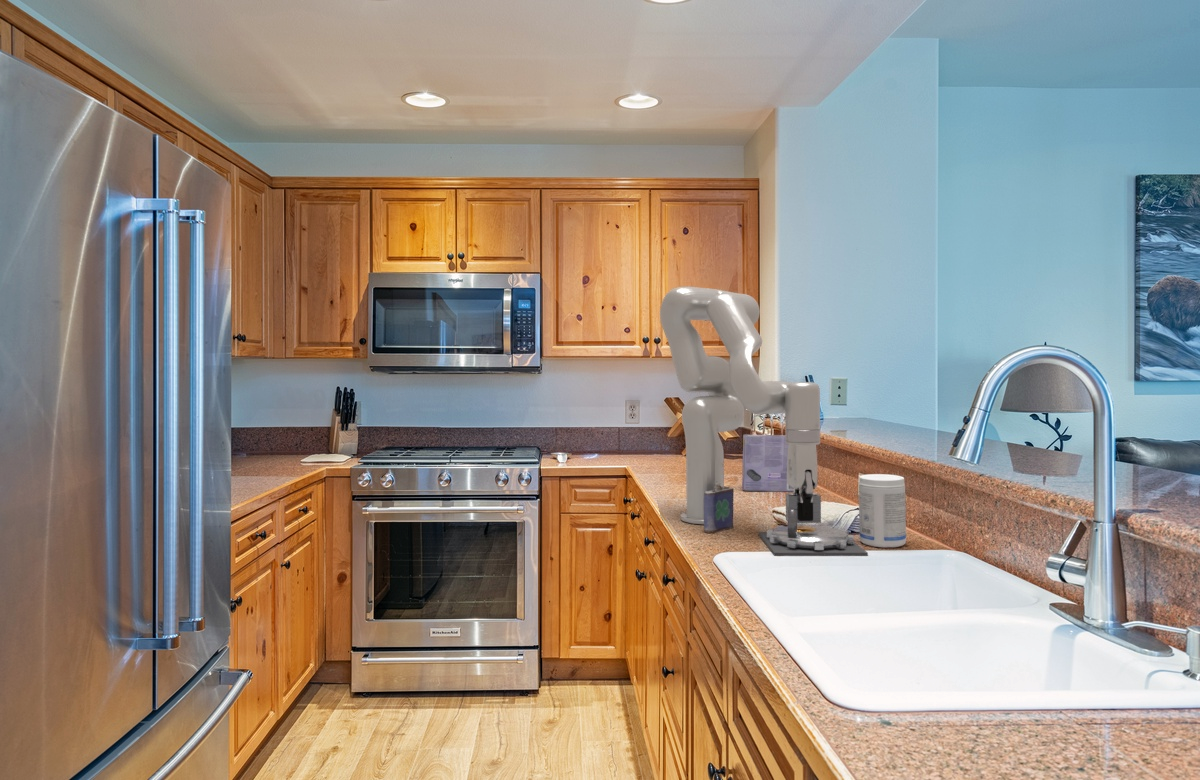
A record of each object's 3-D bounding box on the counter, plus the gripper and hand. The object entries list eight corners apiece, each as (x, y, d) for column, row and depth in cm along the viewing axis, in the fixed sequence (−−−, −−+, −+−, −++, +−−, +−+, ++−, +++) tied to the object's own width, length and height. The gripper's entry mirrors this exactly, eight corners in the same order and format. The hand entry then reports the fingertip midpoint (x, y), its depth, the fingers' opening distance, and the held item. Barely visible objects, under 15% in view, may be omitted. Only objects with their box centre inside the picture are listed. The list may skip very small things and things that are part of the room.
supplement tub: (906, 540, 163) (906, 474, 163) (905, 550, 155) (905, 481, 154) (860, 536, 167) (860, 472, 167) (857, 546, 158) (857, 478, 158)
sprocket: (760, 545, 156) (760, 510, 155) (773, 528, 172) (773, 496, 172) (851, 552, 149) (851, 516, 149) (855, 533, 165) (855, 501, 165)
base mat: (758, 534, 170) (758, 531, 170) (840, 534, 170) (840, 531, 170) (774, 555, 151) (774, 551, 151) (867, 555, 151) (867, 551, 151)
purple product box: (803, 489, 232) (803, 433, 231) (806, 492, 227) (806, 435, 226) (741, 489, 234) (741, 433, 233) (743, 491, 229) (743, 435, 228)
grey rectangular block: (785, 519, 167) (785, 492, 167) (816, 519, 166) (816, 491, 166) (789, 522, 163) (788, 494, 163) (820, 522, 163) (820, 494, 163)
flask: (710, 534, 172) (710, 485, 171) (699, 531, 174) (699, 483, 174) (736, 527, 178) (736, 480, 178) (725, 525, 181) (725, 479, 180)
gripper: (778, 434, 173) (778, 511, 173) (794, 441, 156) (794, 526, 157) (810, 433, 172) (811, 511, 173) (829, 440, 156) (830, 526, 156)
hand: (803, 517), depth 165 cm, fingers closed on grey rectangular block, 3 cm apart
